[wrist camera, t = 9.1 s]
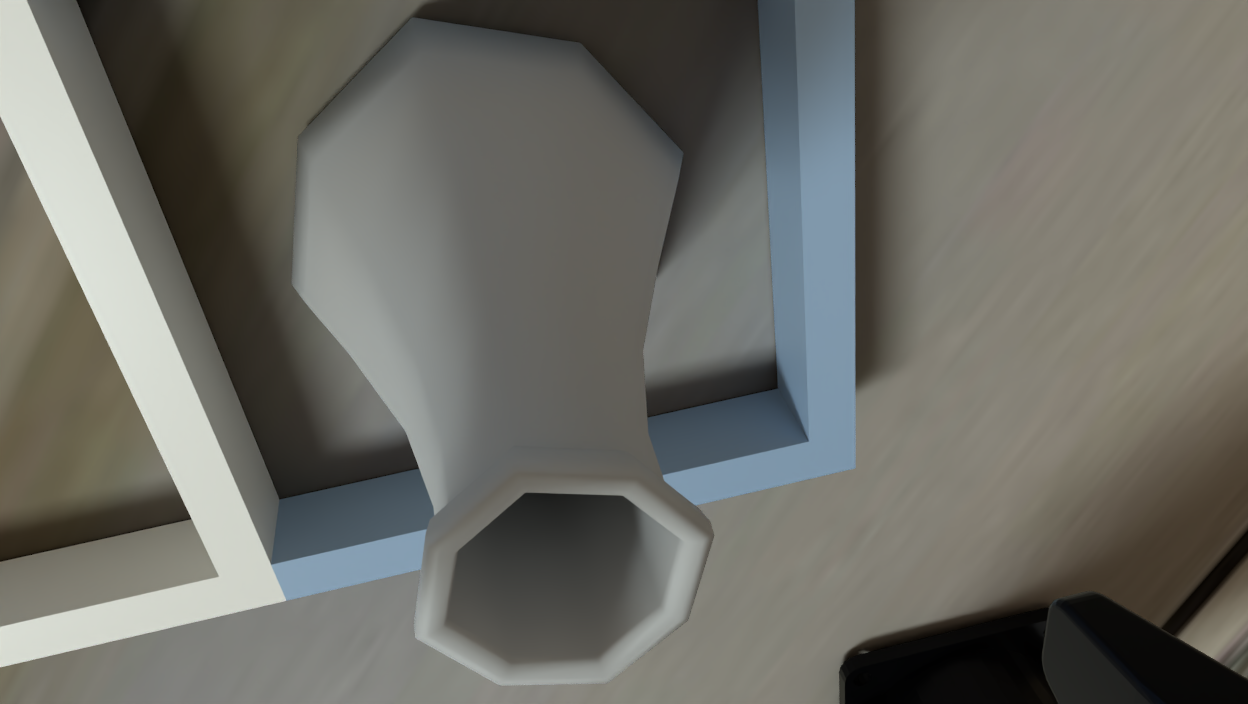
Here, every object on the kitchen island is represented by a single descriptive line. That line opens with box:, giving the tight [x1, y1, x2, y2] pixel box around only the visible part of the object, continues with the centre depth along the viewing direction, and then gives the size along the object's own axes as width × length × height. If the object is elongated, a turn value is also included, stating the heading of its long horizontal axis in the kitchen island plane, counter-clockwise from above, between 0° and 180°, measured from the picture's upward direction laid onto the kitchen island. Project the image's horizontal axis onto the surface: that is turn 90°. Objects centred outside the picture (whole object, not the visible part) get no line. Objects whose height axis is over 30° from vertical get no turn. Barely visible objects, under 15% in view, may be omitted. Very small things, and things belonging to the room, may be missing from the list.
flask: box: [292, 17, 714, 686], centre depth 15 cm, size 7×7×10 cm
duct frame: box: [0, 0, 855, 667], centre depth 18 cm, size 25×13×2 cm, turn 98°
